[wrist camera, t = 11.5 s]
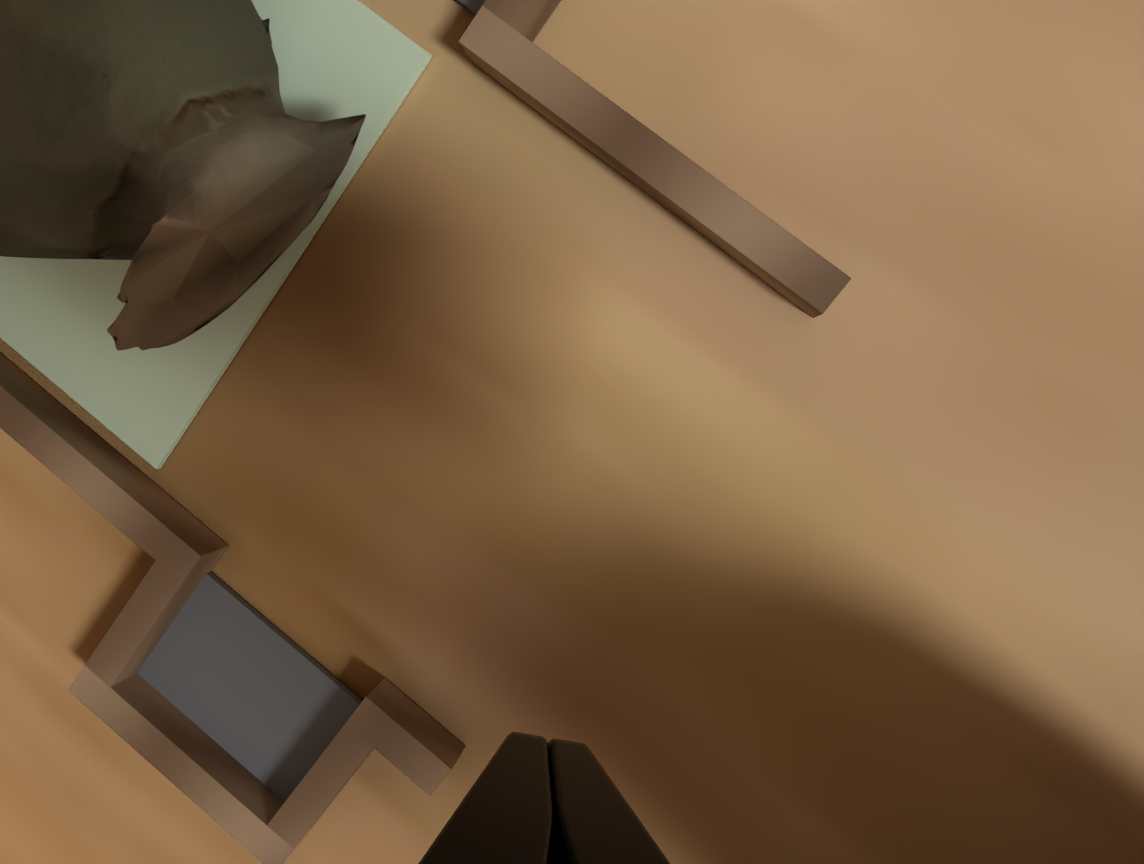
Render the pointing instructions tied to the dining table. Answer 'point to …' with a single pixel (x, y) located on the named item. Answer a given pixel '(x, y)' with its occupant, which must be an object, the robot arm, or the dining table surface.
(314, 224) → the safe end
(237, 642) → the mats
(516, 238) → the dining table surface
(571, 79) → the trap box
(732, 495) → the dining table surface
